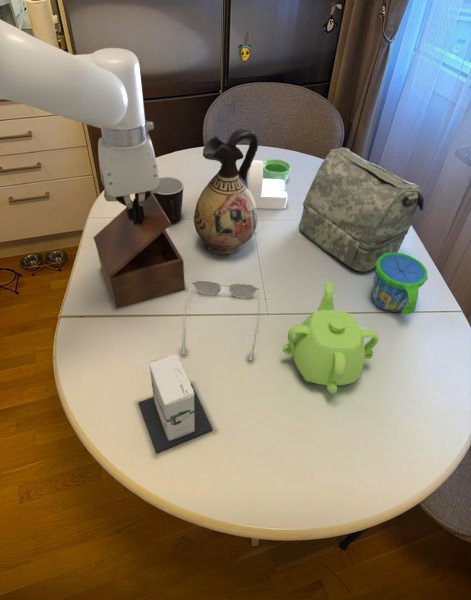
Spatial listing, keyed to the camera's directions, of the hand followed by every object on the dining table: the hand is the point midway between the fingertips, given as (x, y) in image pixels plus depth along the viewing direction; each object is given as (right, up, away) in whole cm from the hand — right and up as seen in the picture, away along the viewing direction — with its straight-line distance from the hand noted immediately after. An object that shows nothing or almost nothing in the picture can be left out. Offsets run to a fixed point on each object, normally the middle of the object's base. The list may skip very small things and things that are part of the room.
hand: (136, 220), depth 85 cm
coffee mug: (+2, +5, +28) cm, 29 cm away
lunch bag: (+50, -1, +26) cm, 56 cm away
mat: (+10, -37, -13) cm, 40 cm away
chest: (-1, -12, +11) cm, 16 cm away
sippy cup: (+55, -17, +11) cm, 59 cm away
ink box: (+10, -36, -13) cm, 40 cm away
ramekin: (+33, +22, +48) cm, 62 cm away
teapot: (+38, -28, -2) cm, 47 cm away
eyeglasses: (+17, -22, +3) cm, 28 cm away
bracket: (+25, +14, +39) cm, 48 cm away
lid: (-1, -2, +1) cm, 3 cm away
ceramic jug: (+18, -2, +23) cm, 29 cm away
